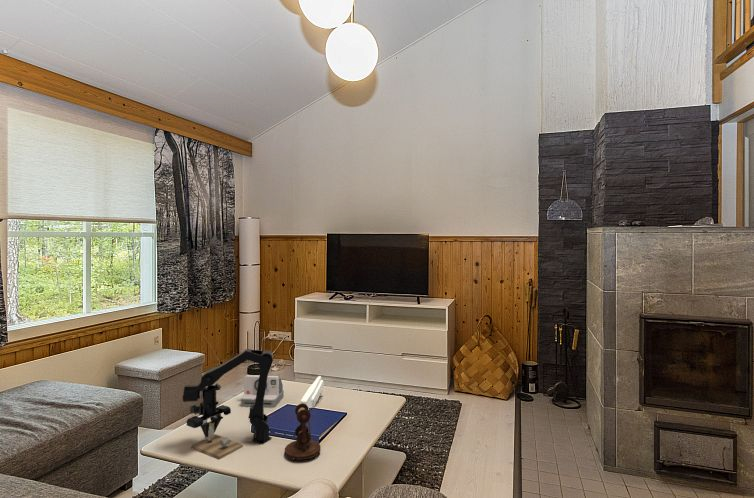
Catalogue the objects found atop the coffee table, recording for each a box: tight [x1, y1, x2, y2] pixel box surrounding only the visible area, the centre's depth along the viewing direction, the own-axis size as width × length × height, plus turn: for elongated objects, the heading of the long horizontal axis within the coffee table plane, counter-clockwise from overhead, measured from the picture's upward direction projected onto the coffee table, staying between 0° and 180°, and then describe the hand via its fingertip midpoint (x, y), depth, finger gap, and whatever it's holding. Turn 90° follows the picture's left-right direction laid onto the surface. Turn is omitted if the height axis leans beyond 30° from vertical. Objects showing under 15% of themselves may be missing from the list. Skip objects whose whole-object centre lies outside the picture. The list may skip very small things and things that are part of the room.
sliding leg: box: [204, 420, 215, 442], centre depth 185 cm, size 3×3×8 cm
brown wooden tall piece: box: [284, 403, 321, 462], centre depth 177 cm, size 15×15×20 cm
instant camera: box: [240, 374, 285, 409], centre depth 236 cm, size 21×21×15 cm
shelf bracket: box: [300, 375, 325, 410], centre depth 231 cm, size 6×25×13 cm, turn 168°
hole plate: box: [190, 434, 244, 460], centre depth 182 cm, size 18×12×5 cm, turn 59°
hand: (209, 435), depth 185 cm, fingers closed on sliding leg, 3 cm apart
